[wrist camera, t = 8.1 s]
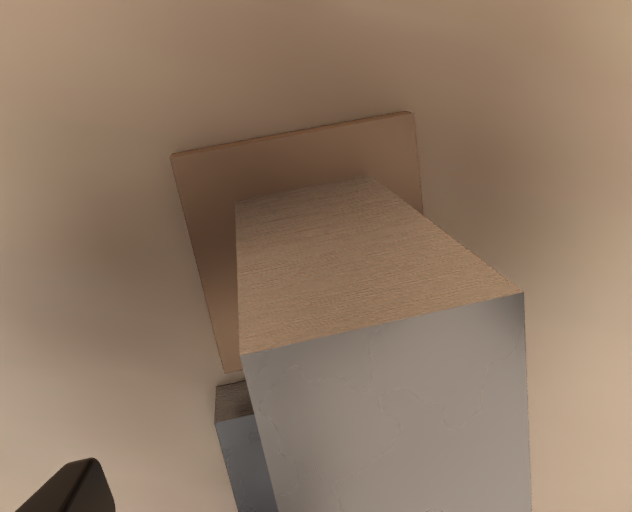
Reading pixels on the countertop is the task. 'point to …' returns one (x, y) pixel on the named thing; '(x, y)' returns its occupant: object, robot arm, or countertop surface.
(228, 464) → the square metal frame
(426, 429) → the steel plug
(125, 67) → the countertop surface
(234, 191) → the walnut pad
